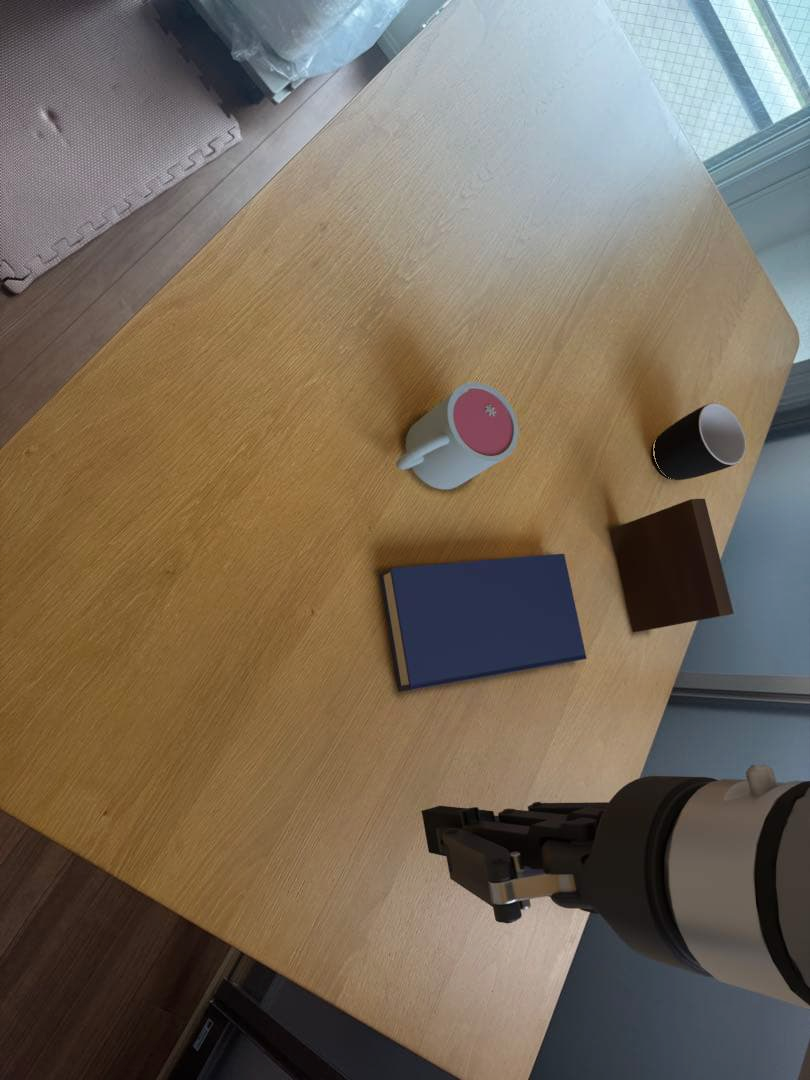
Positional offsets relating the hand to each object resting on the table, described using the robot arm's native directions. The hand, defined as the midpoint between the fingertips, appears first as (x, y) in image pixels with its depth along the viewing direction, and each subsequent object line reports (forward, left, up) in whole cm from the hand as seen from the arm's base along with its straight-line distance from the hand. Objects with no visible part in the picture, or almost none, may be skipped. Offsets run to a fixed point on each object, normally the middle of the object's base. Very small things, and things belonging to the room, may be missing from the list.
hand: (434, 828), depth 49 cm
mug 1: (+20, +36, -25) cm, 48 cm away
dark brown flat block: (+48, +19, -25) cm, 57 cm away
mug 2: (+62, +37, -25) cm, 76 cm away
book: (+23, +16, -25) cm, 38 cm away
